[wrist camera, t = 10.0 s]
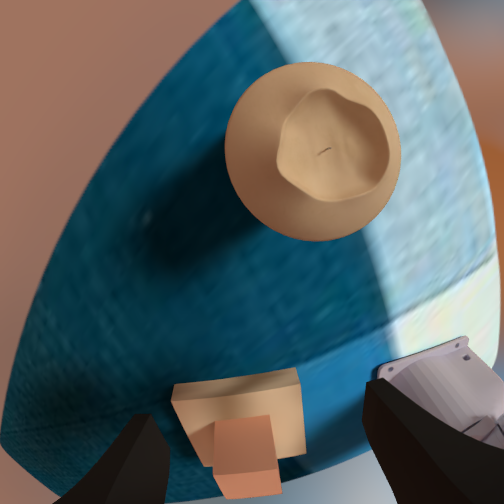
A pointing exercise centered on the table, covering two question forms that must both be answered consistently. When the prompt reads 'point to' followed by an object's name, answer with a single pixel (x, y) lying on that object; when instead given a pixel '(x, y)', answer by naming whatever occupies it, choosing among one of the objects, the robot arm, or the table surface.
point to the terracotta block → (246, 458)
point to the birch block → (243, 409)
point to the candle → (312, 151)
